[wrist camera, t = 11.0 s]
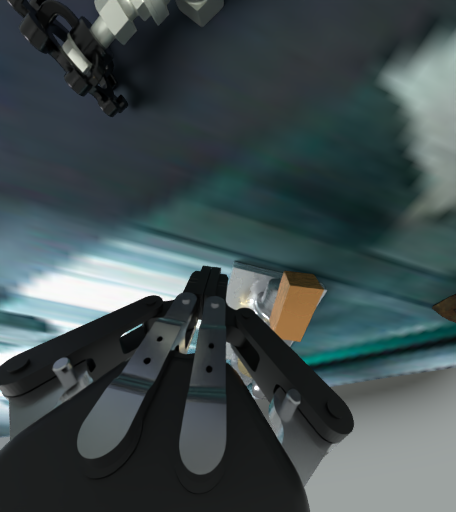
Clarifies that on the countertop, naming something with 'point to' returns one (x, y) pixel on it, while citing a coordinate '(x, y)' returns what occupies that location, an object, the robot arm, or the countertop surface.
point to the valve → (97, 38)
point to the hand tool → (447, 308)
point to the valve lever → (293, 309)
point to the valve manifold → (252, 300)
